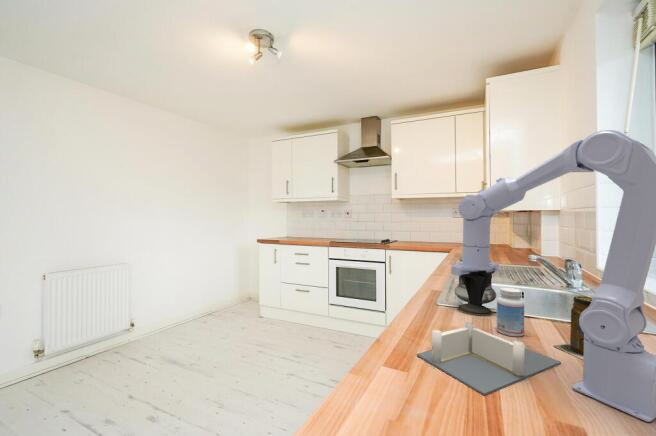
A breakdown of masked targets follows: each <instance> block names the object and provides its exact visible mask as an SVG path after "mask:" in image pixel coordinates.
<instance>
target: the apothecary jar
mask: <svg viewBox="0 0 656 436" xmlns="http://www.w3.org/2000/svg"><path fill="white" fill-rule="evenodd" d="M460 262H463V253H461V254H460V256H459V260H457V261H456V262H455V264H454V266H455V265H458V264H459V263H460ZM490 262H492V261H491V259H490ZM486 273H488V274H492V275H493V274H495V273H496V271H488V272H486ZM454 294H455V296H456V297H457V298H458V299H460V300H461V301H463V302H466V303H462V304H459V305H458V306H459V307H458V306H457V310H459V311H460V310H461V311H460V312H462V311H463V312H462V313H464V312H465V314H468V315H473V316H489V315H492V314H493V311H492V309H491V308H490V307H486V306H485V304H489V303H492V302H493V301H495V300H496V299H497V291H495V289H494V288H493V287H492V279H491V280H490V282H489V283H488V285H487V287H486V289H485V292H484V295H483V298H482V302H481V304H478V305H477V304H473V303H470V301H469V297H468V293H467V290H466V287H465V284H464V282H463V280H462V279H461V277H460V276H458V285H457V286H455V288H454ZM483 304H484V305H483ZM491 313H492V314H491Z"/></svg>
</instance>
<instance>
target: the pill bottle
mask: <svg viewBox="0 0 656 436" xmlns="http://www.w3.org/2000/svg"><path fill="white" fill-rule="evenodd" d="M499 293H500V296H499V297H497V298H496V331H498V333H500V334H503V335H505V336H510V337H523V336H524V334H525V302H524V301H523V299H521V296H522V290H521V289H519V288H518V289H517V288H513V287H500V288H499Z"/></svg>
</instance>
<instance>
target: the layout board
mask: <svg viewBox="0 0 656 436" xmlns="http://www.w3.org/2000/svg"><path fill="white" fill-rule="evenodd" d="M416 356H417V357H418V358H419V359H421V360H423V361H425V362H426V363H428V364H430V365H431V366H433V367H435V368H436V369H438V370H440V371H441V372H444V373H445V374H446V375H448V376H450V377H451V378H454V379H455V380H457V381H459V382H460V383H461V384H463V385H465V386H467V387H469V388H470V389H472V390H473V391H476V392H477V393H478V394H480V395H482V396H487V395H490V394H493V393H494V392H497V391H499V390H502V389H504V388H507V387H508V386H511V385H514V384H516V383H519V382H520V381H523V380H525V379H528V378H530V377H533V376H535V375H538V374H540V373H542V372H544V371H548V370H549V369H552V368H554V367H556V366H559V365H561V364H562V362H561V361H559V360H557V359H555V358H552V357H550V356H547V355H544V354H542V353H539V352H536V351H533V350H531V349H528V348H526V347H525V348H524V375H517V374H515V373H513V372H512V371H510V370H508V369H506V368H504V367H502V366H500V365H498V364H496V363H493V362H491V361H489V360H487V359H485V358H483V357H481V356H479V355H477V354H475V353H471V352H468V353H466V354H462V355H459V356H456V357H452V358H449V359H446V360H442V361H441V363H435V362H433V361H432V349H429V350H427V351H422V352H419V353H416Z"/></svg>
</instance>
